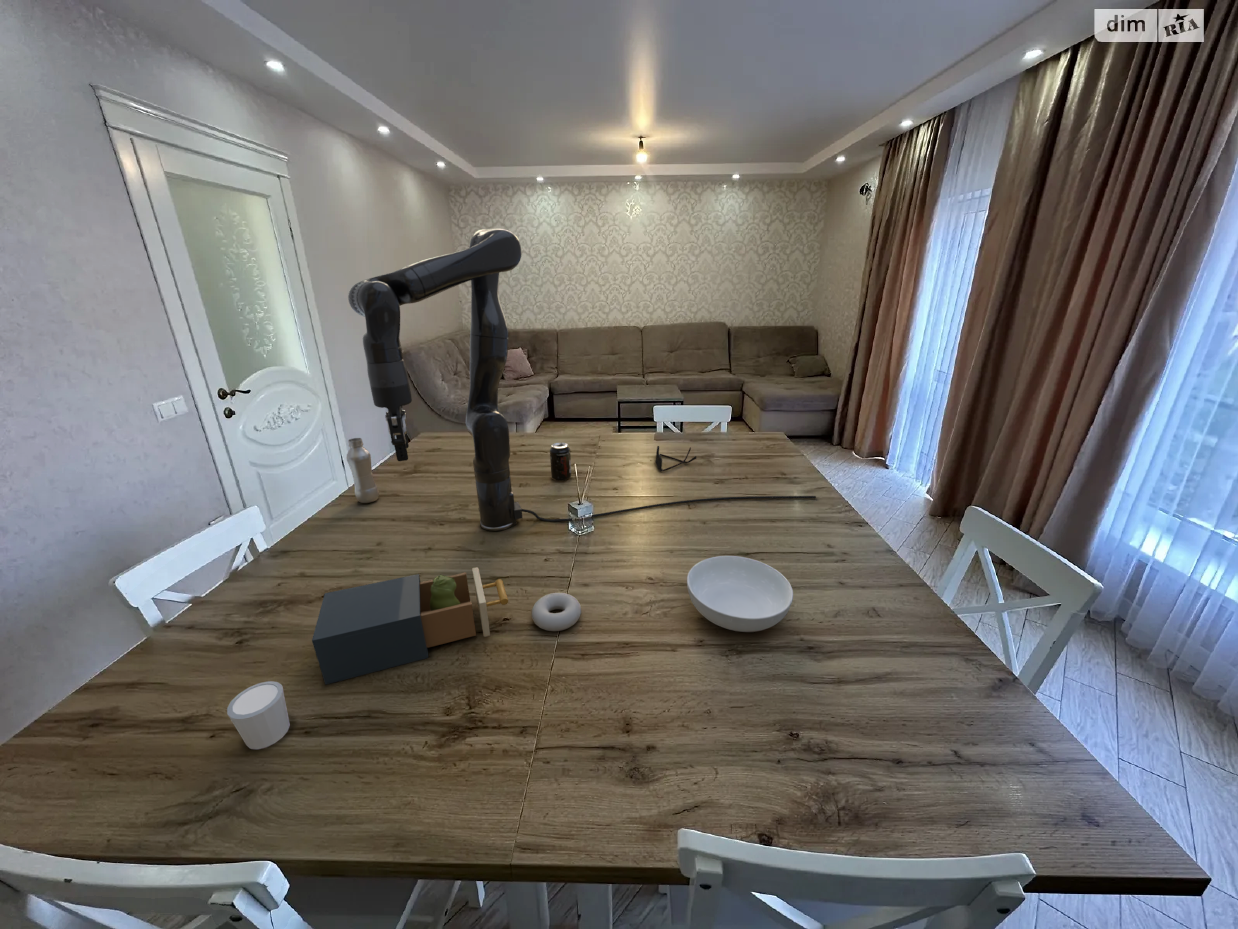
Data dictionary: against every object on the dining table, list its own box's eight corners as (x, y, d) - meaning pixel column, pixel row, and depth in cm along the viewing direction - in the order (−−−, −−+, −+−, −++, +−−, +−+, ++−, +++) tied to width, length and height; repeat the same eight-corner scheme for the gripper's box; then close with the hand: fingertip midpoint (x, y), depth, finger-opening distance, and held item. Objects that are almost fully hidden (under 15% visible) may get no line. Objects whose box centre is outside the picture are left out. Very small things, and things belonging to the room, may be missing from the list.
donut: (569, 640, 92) (589, 607, 101) (568, 626, 91) (588, 594, 100) (523, 629, 96) (546, 598, 104) (521, 615, 94) (545, 584, 103)
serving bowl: (729, 662, 87) (732, 631, 84) (666, 597, 104) (667, 570, 102) (812, 625, 96) (817, 596, 93) (741, 571, 113) (744, 546, 110)
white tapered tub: (258, 715, 77) (245, 682, 74) (303, 712, 78) (292, 679, 75) (230, 755, 71) (214, 720, 68) (279, 751, 71) (266, 716, 69)
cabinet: (426, 612, 100) (418, 573, 96) (428, 658, 88) (419, 615, 85) (336, 633, 94) (324, 593, 91) (325, 685, 83) (311, 640, 79)
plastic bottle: (371, 506, 146) (357, 444, 138) (351, 504, 147) (337, 442, 140) (385, 497, 152) (372, 437, 144) (366, 495, 153) (352, 435, 146)
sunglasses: (697, 472, 169) (698, 459, 167) (656, 472, 169) (656, 459, 167) (691, 455, 184) (692, 443, 182) (654, 455, 184) (654, 443, 182)
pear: (427, 624, 94) (419, 581, 90) (446, 608, 98) (439, 566, 94) (450, 632, 92) (442, 588, 88) (468, 615, 96) (462, 573, 92)
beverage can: (575, 477, 166) (574, 444, 161) (563, 484, 160) (561, 450, 156) (560, 473, 169) (558, 440, 165) (547, 479, 164) (545, 446, 159)
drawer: (502, 593, 105) (499, 562, 102) (513, 629, 94) (509, 596, 91) (403, 616, 98) (396, 584, 95) (402, 658, 87) (395, 623, 84)
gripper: (408, 387, 97) (421, 462, 103) (409, 374, 109) (421, 442, 115) (366, 390, 94) (383, 467, 100) (372, 377, 107) (386, 446, 113)
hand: (403, 454), depth 108 cm, fingers open, 8 cm apart
